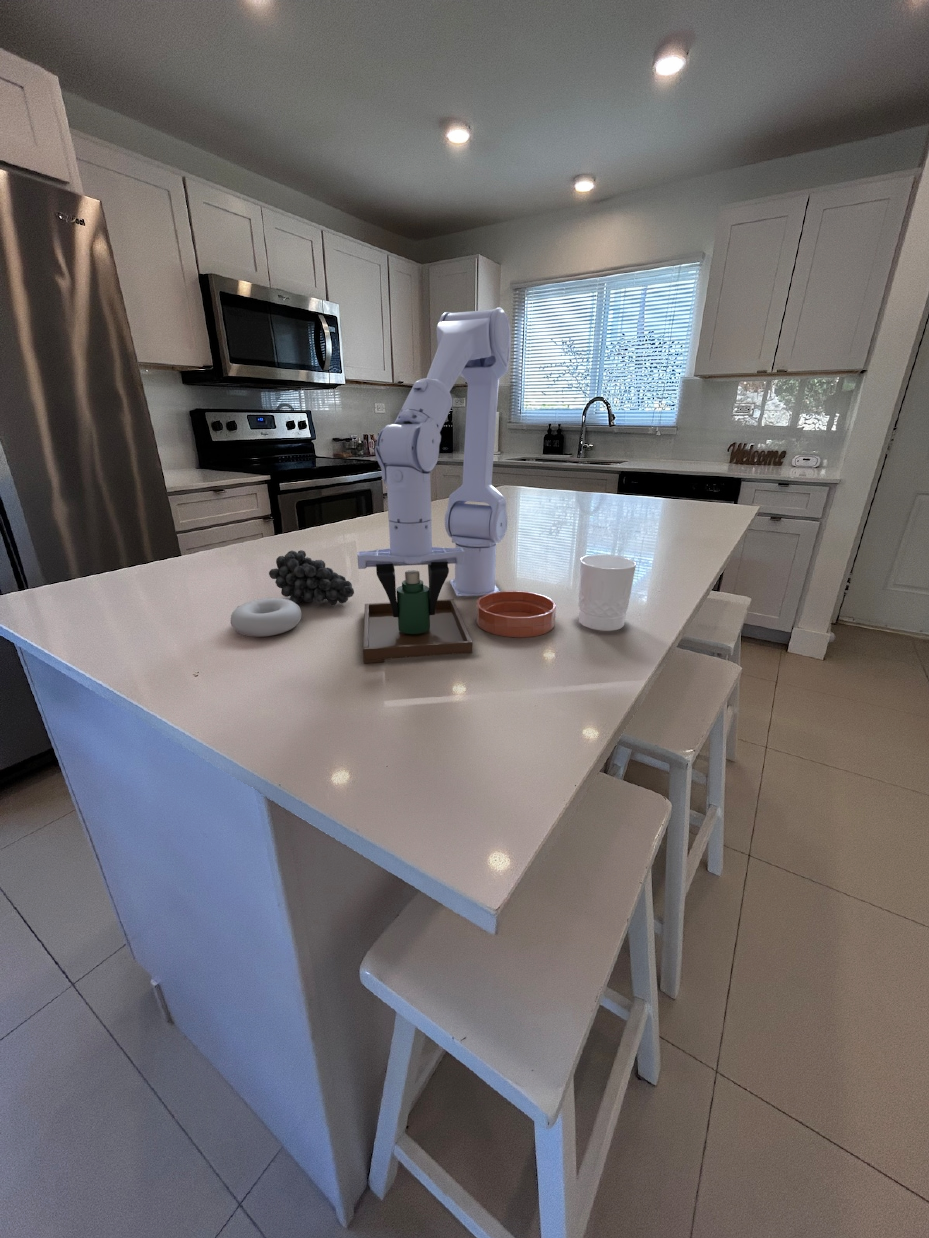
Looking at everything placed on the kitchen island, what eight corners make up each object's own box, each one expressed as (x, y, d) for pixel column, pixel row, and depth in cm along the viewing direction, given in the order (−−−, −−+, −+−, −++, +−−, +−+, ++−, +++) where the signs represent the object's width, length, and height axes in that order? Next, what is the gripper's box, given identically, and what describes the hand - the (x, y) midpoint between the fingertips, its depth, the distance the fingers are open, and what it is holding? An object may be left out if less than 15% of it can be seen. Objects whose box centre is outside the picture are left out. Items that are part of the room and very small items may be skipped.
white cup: (629, 637, 74) (639, 570, 70) (574, 632, 75) (580, 567, 71) (625, 617, 81) (633, 556, 77) (574, 613, 82) (580, 553, 78)
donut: (269, 646, 70) (316, 620, 79) (265, 623, 69) (314, 599, 77) (217, 634, 74) (268, 610, 83) (212, 612, 73) (264, 590, 81)
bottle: (397, 623, 76) (394, 568, 72) (428, 621, 76) (427, 566, 73) (399, 635, 71) (396, 577, 68) (431, 633, 72) (430, 575, 69)
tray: (365, 615, 81) (364, 603, 80) (453, 610, 83) (453, 598, 83) (364, 663, 65) (362, 649, 65) (472, 655, 68) (472, 642, 67)
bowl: (470, 613, 82) (470, 592, 81) (540, 609, 84) (541, 589, 83) (485, 643, 71) (485, 620, 70) (565, 637, 73) (567, 615, 72)
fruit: (358, 551, 82) (286, 540, 88) (329, 580, 77) (253, 566, 82) (370, 593, 88) (301, 580, 93) (344, 623, 82) (272, 607, 88)
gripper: (353, 526, 63) (361, 627, 68) (468, 523, 66) (467, 621, 71) (355, 516, 70) (362, 609, 75) (459, 513, 72) (459, 603, 77)
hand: (413, 613), depth 73 cm, fingers closed on bottle, 4 cm apart
